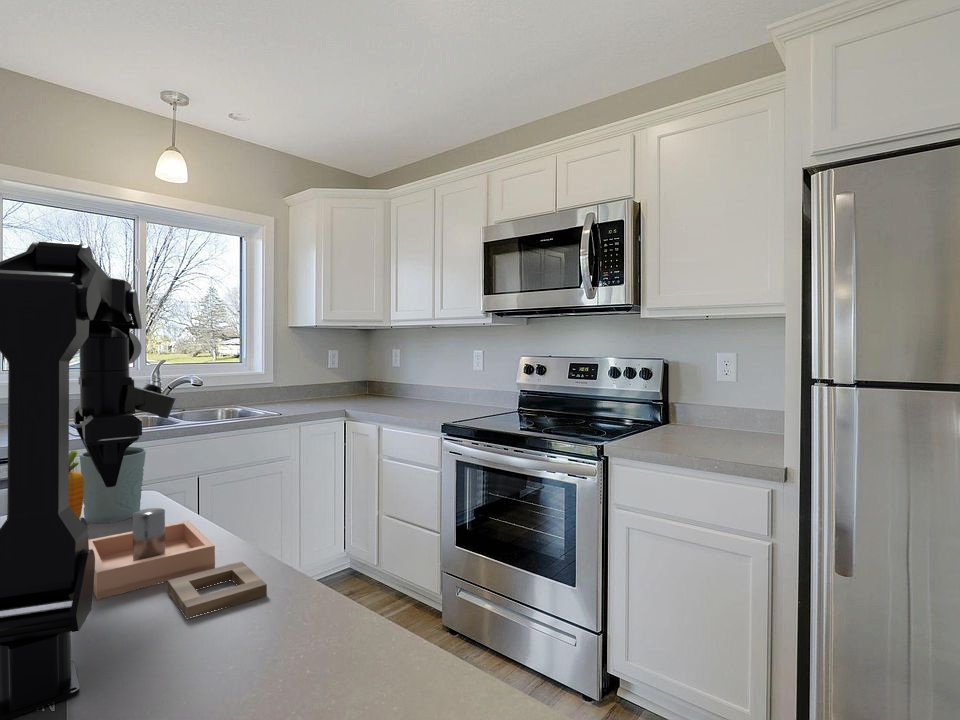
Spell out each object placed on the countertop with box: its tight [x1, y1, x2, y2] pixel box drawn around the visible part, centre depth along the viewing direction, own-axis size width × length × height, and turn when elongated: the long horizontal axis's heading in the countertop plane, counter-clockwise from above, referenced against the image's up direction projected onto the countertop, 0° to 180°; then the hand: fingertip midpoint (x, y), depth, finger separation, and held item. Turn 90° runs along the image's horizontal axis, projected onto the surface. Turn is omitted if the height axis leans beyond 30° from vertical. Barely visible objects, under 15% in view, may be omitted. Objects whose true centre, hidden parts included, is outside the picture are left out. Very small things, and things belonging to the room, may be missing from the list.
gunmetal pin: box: [131, 507, 166, 561], centre depth 78 cm, size 4×4×7 cm
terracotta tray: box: [88, 520, 216, 600], centre depth 79 cm, size 14×14×4 cm
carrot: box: [69, 449, 84, 518], centre depth 87 cm, size 5×5×15 cm
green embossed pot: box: [79, 446, 147, 524], centre depth 101 cm, size 10×10×12 cm
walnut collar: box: [167, 561, 268, 619], centre depth 71 cm, size 9×9×2 cm
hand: (106, 479), depth 77 cm, fingers open, 9 cm apart
